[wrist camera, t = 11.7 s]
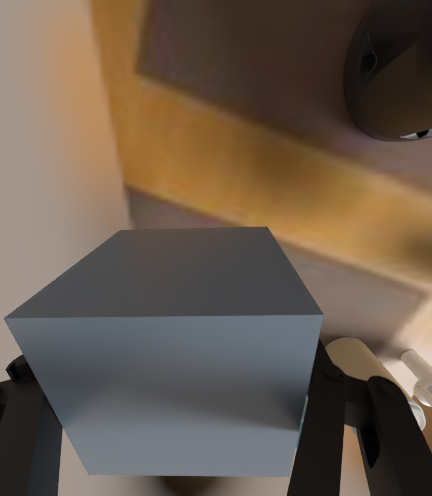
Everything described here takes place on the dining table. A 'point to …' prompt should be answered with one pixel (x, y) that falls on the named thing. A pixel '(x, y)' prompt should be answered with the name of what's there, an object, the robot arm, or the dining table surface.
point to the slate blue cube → (176, 352)
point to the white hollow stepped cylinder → (420, 375)
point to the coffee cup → (364, 367)
